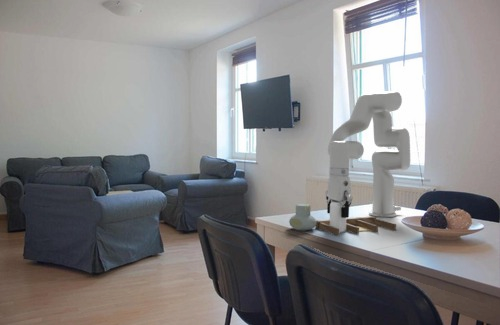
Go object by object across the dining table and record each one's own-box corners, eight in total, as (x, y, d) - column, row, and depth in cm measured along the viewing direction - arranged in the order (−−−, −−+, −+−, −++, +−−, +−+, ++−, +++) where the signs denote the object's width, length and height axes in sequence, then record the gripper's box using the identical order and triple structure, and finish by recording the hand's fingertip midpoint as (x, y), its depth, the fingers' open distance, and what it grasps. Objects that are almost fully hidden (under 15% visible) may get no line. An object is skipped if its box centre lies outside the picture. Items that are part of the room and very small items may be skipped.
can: (346, 229, 163) (347, 200, 163) (345, 233, 157) (345, 202, 157) (330, 228, 165) (331, 199, 165) (328, 231, 159) (329, 201, 159)
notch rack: (373, 223, 177) (373, 216, 177) (397, 230, 163) (397, 223, 163) (315, 227, 167) (315, 220, 167) (335, 235, 153) (335, 228, 153)
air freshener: (319, 230, 162) (320, 205, 162) (306, 233, 157) (306, 207, 156) (299, 225, 170) (299, 202, 170) (285, 228, 165) (286, 204, 164)
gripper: (360, 174, 153) (358, 218, 154) (334, 170, 169) (333, 211, 170) (343, 174, 150) (342, 219, 151) (319, 170, 167) (318, 212, 167)
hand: (337, 215), depth 161 cm, fingers open, 9 cm apart
